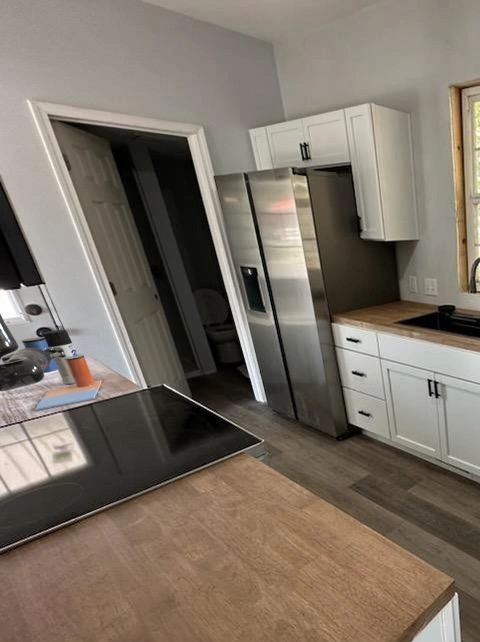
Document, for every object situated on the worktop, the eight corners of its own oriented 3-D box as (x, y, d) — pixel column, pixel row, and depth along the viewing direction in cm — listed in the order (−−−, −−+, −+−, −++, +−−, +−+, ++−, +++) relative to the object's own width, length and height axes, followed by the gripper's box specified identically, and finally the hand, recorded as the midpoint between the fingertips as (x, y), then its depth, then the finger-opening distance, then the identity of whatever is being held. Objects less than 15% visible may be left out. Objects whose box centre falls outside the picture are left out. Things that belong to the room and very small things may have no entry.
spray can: (85, 381, 159) (64, 331, 152) (61, 385, 156) (38, 334, 149) (90, 377, 164) (69, 328, 157) (66, 381, 161) (44, 331, 154)
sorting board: (35, 410, 133) (34, 409, 133) (50, 391, 151) (49, 389, 150) (94, 399, 141) (93, 397, 141) (101, 381, 159) (101, 380, 159)
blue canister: (34, 374, 134) (19, 341, 130) (38, 371, 138) (23, 339, 134) (57, 370, 137) (43, 338, 133) (60, 367, 141) (46, 336, 137)
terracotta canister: (75, 388, 151) (62, 359, 147) (77, 384, 154) (65, 356, 151) (94, 384, 154) (82, 356, 150) (96, 381, 157) (84, 353, 154)
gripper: (57, 345, 127) (66, 336, 140) (-13, 355, 119) (4, 345, 132) (67, 368, 130) (75, 357, 143) (-1, 379, 122) (14, 367, 134)
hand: (41, 351), depth 137 cm, fingers closed on blue canister, 5 cm apart
